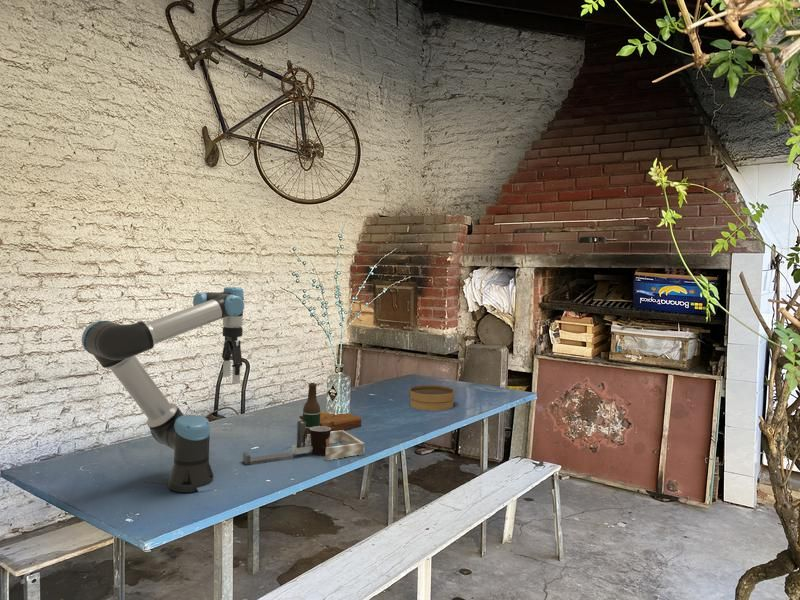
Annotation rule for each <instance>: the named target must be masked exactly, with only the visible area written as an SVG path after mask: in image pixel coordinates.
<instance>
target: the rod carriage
mask: <svg viewBox="0 0 800 600" xmlns="http://www.w3.org/2000/svg"><path fill="white" fill-rule="evenodd" d="M296 425H297V426H296V427H297V428H296V444H292V445H291V452H292V453H294V454H295V455H300V454H306V453H307V454H308V453H310V451H312V450H313V447H312V445H307V443H306V437H305V434H306V421H301V420H298V421H297V424H296ZM326 447H330V444H329V440H326V441H325V452H326Z"/></svg>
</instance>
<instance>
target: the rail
mask: <svg viewBox="0 0 800 600" xmlns="http://www.w3.org/2000/svg"><path fill="white" fill-rule="evenodd" d="M291 459H293V454H291V453H290V452H289V451H287V452H282V453H281V452H280V453H274V454H266V455H260V456H252V457H251V454H250V453H249V452H248V451H244V452H242V463H243V464H244V465H245V466H250V465H256V464H257V465H258V464H263V463H264V464H265V463H270V462H271V463H272V462H277V461H285V460H291Z"/></svg>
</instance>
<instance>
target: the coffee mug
mask: <svg viewBox="0 0 800 600" xmlns="http://www.w3.org/2000/svg"><path fill="white" fill-rule="evenodd" d="M330 432H331V428H329V427H325V426H316V427H311V428H310V436H311V445H312V447H313V450H311V454H312V455H315V456H322V455H323V456H325V455H326V452H325V441H326V440H329V439H330Z"/></svg>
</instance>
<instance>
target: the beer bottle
mask: <svg viewBox="0 0 800 600" xmlns="http://www.w3.org/2000/svg"><path fill="white" fill-rule="evenodd" d="M307 386H308V394H307V400H306V402H305V403H304V405H303V408H302V416H303V421H306V434H305V439H307V434H310V428H311V427H316V426H320V412H321V407H320V404H319V402H318V399H317V386H318V385H317V383H316V382H310V383H308V385H307Z"/></svg>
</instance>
